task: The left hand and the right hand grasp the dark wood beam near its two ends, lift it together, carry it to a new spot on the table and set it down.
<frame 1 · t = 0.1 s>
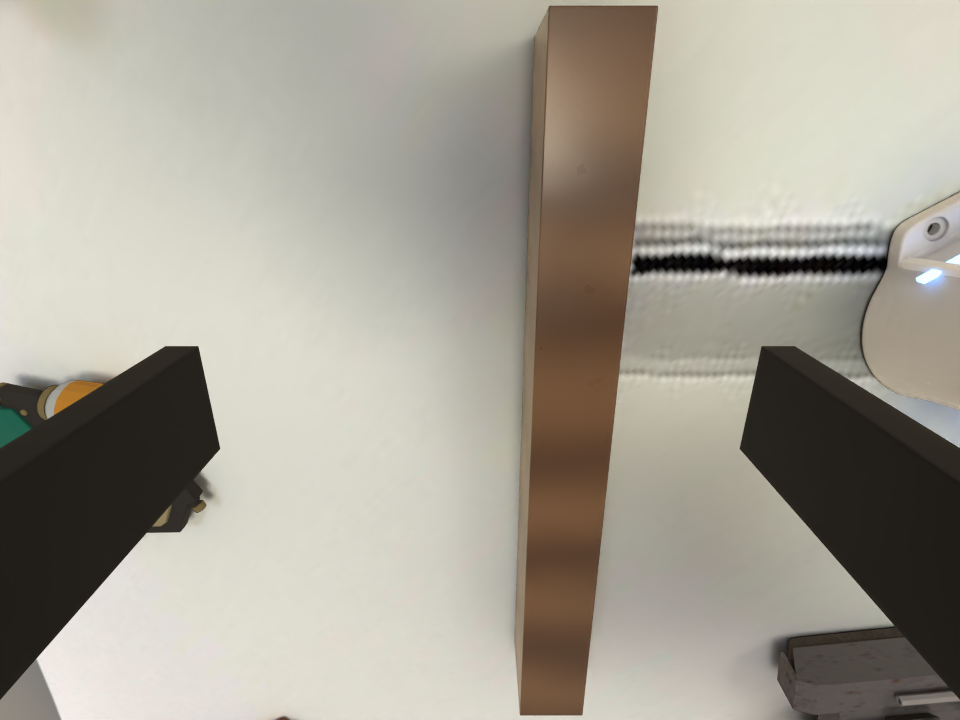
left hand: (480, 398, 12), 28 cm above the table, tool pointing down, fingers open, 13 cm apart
beam: (555, 407, 44), on the table
spray gun: (107, 452, 45), on the table
toy: (882, 690, 56), on the table
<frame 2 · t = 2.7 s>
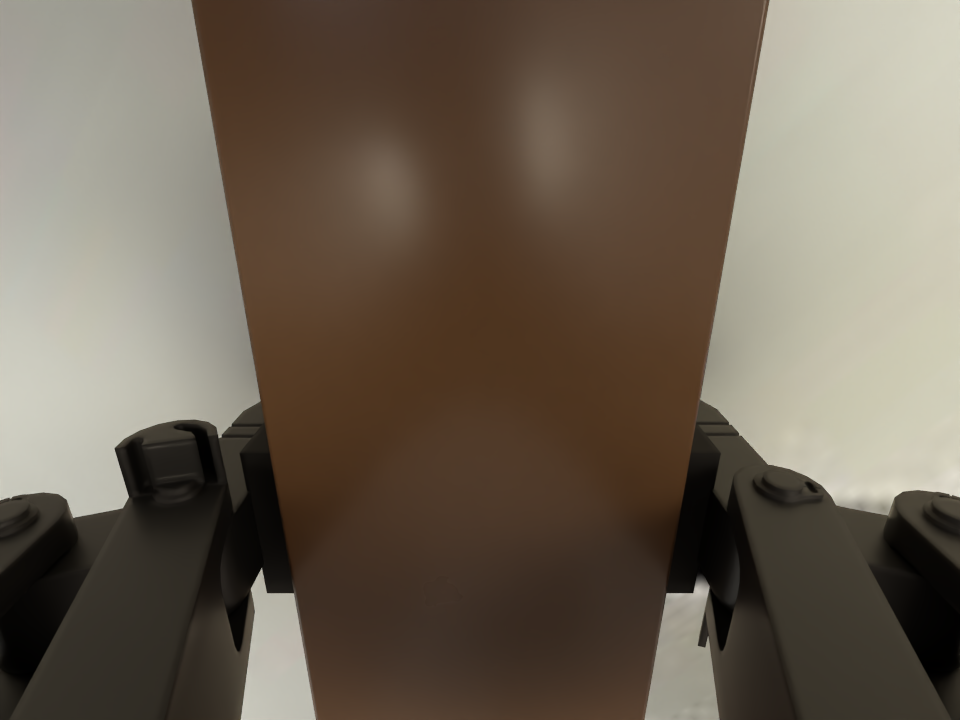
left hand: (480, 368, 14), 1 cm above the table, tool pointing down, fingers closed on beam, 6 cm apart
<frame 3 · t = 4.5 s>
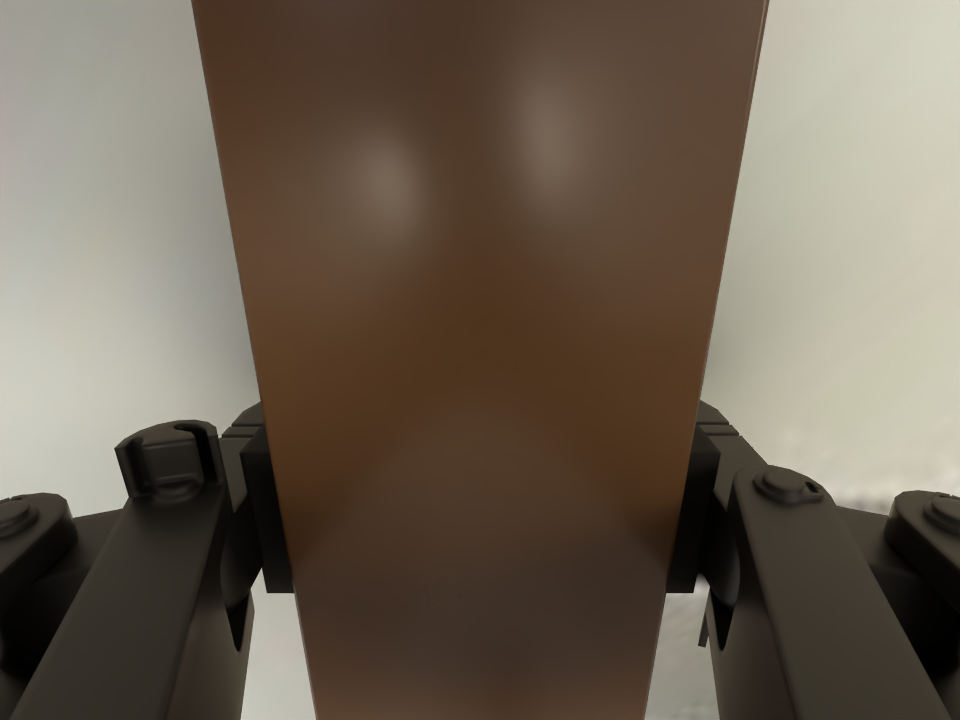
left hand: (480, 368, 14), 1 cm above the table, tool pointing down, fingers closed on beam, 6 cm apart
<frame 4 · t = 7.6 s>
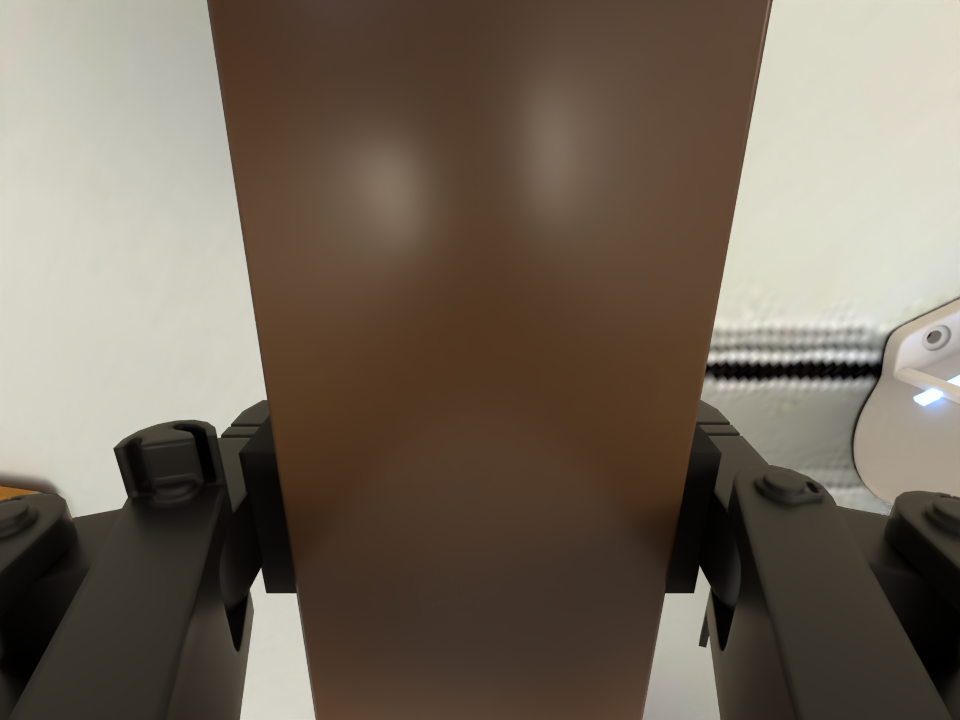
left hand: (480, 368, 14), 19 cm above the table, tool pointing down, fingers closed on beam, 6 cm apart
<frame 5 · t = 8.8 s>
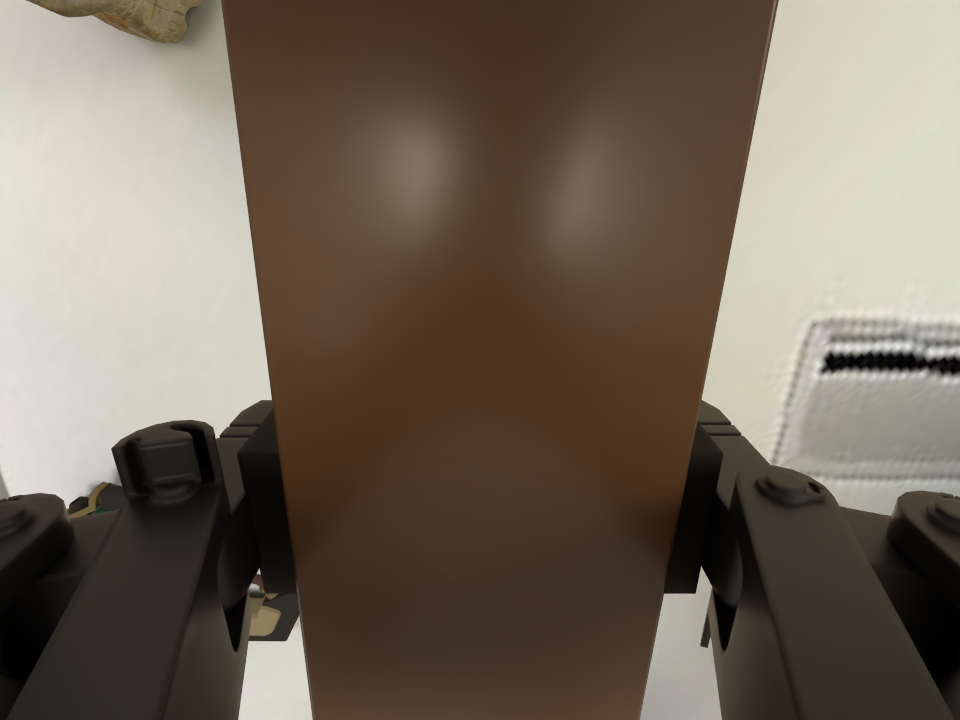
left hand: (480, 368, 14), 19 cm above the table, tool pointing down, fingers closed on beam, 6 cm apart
spray gun: (208, 551, 40), on the table
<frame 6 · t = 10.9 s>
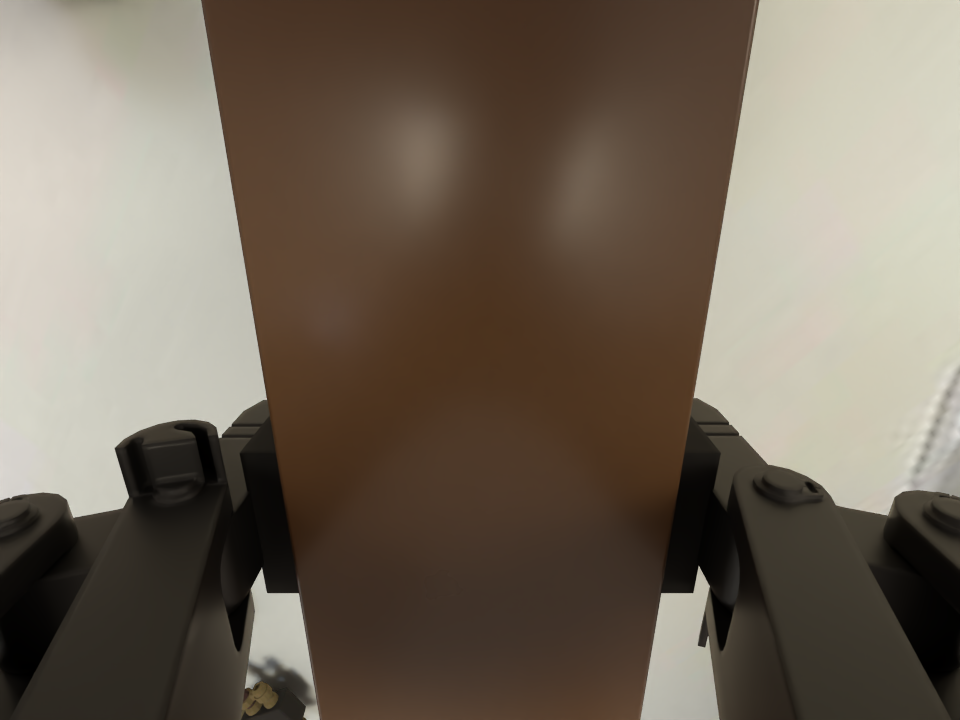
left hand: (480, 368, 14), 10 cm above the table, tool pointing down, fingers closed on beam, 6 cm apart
spray gun: (172, 652, 32), on the table
when the left hand's fingers open (1 cm above the table, at t = 12.8 s): beam stays where it is, held by the right hand.
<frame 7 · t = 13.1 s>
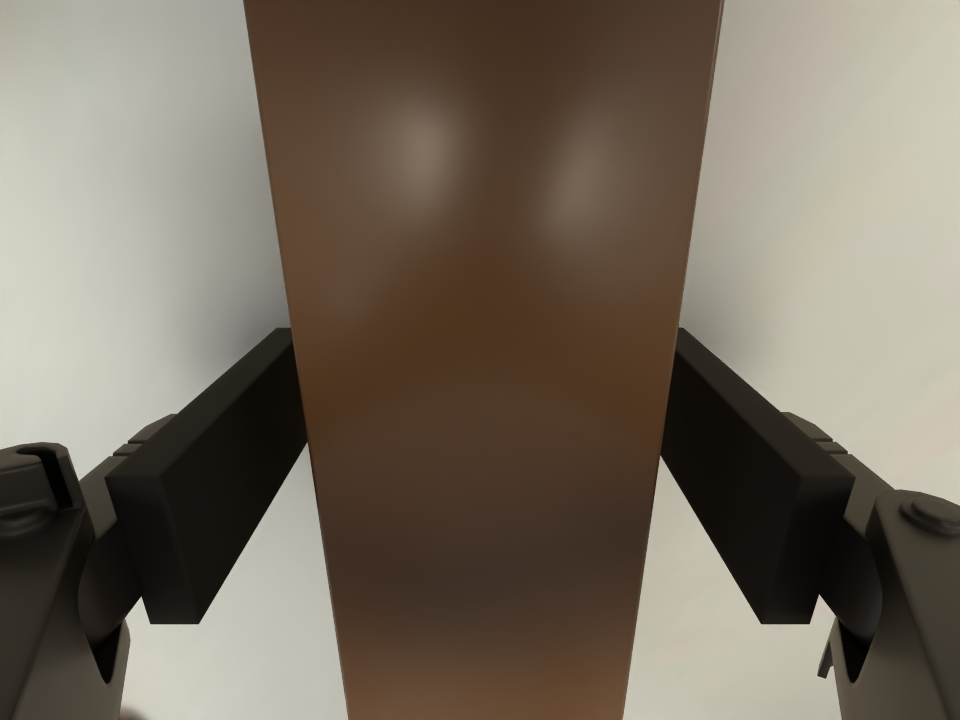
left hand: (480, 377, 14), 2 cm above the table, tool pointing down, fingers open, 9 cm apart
when the right hand's fingers open (4 cm above the table, at t = 13.1 s): beam stays where it is, on the table.
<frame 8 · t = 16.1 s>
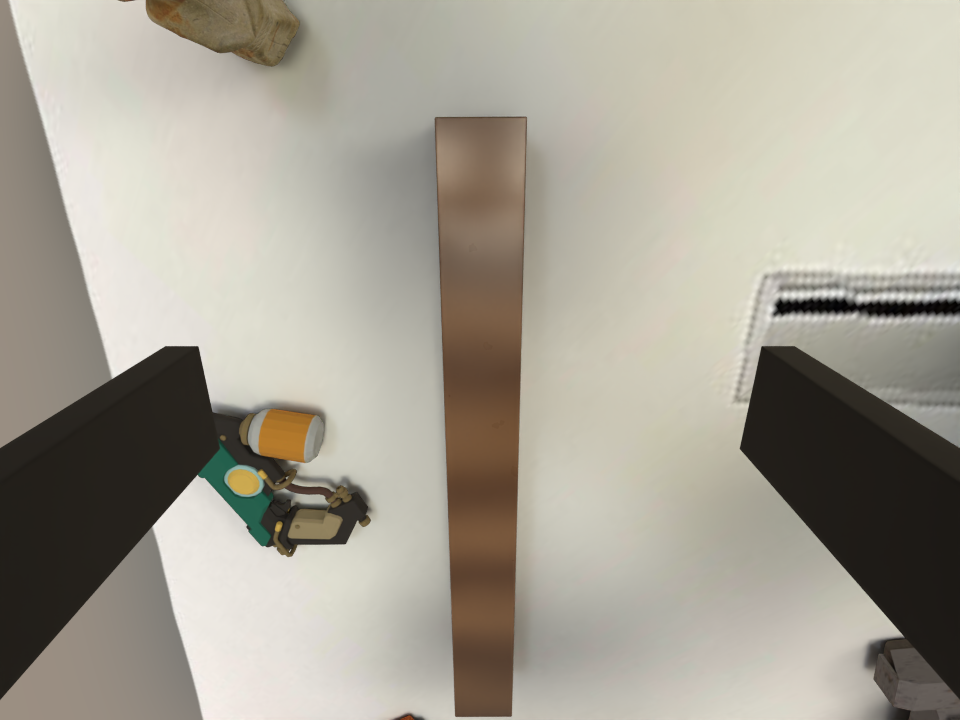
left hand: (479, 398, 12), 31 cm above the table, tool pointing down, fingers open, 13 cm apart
sculpture: (256, 19, 36), on the table
beam: (482, 439, 49), on the table
spray gun: (281, 471, 50), on the table
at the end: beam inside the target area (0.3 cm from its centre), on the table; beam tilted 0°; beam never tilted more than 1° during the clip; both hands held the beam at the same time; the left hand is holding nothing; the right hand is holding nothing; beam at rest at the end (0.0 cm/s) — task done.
